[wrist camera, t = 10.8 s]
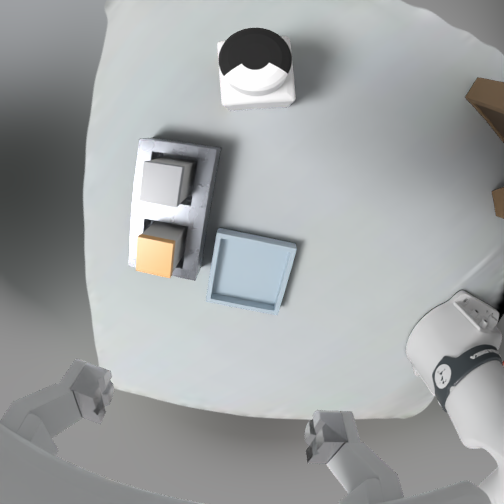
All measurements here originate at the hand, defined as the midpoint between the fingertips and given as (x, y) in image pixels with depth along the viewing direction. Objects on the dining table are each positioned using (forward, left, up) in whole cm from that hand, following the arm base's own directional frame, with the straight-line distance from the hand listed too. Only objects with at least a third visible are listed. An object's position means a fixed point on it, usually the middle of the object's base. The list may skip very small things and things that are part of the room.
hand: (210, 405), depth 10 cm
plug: (+9, +5, -28) cm, 30 cm away
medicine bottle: (+2, -16, -29) cm, 33 cm away
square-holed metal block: (+9, +1, -29) cm, 30 cm away
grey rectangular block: (+9, -3, -28) cm, 30 cm away
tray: (-2, +8, -29) cm, 30 cm away
